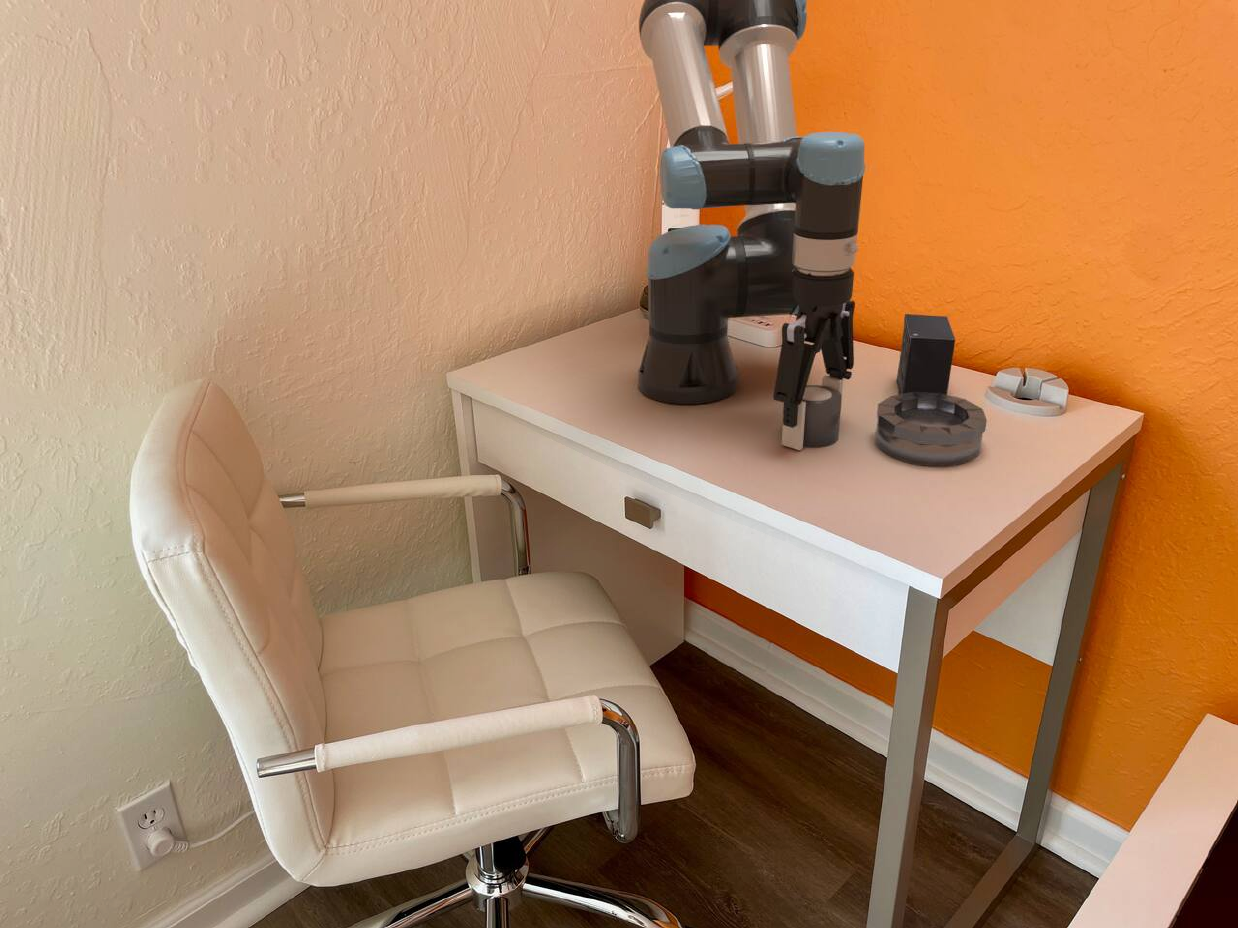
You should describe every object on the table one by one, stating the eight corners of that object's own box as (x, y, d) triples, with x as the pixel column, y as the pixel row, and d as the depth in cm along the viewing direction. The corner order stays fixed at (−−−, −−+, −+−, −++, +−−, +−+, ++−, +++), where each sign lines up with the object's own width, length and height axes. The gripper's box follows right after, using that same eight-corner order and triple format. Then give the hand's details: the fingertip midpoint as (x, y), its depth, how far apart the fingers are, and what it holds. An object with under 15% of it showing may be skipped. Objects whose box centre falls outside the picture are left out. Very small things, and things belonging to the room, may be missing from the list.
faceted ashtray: (857, 447, 120) (860, 416, 118) (903, 415, 128) (907, 385, 126) (953, 476, 112) (958, 443, 110) (996, 439, 120) (1001, 408, 118)
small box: (948, 409, 129) (958, 338, 125) (900, 407, 131) (908, 337, 126) (940, 381, 139) (949, 314, 134) (895, 379, 140) (902, 313, 135)
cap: (774, 438, 123) (777, 395, 120) (802, 421, 128) (805, 379, 125) (821, 452, 119) (824, 408, 116) (848, 434, 123) (851, 391, 121)
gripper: (803, 294, 103) (791, 471, 114) (892, 253, 117) (875, 415, 128) (747, 282, 108) (741, 454, 118) (840, 245, 122) (827, 402, 132)
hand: (811, 434), depth 123 cm, fingers open, 9 cm apart
